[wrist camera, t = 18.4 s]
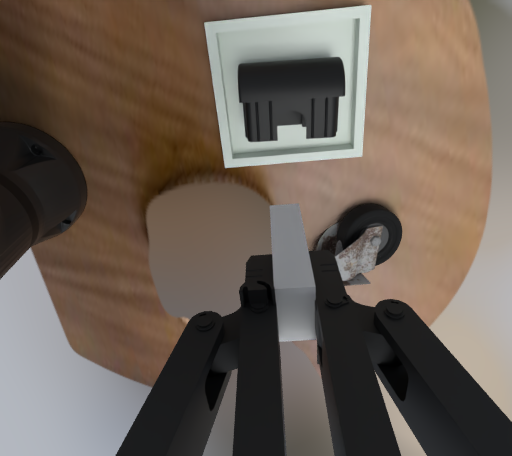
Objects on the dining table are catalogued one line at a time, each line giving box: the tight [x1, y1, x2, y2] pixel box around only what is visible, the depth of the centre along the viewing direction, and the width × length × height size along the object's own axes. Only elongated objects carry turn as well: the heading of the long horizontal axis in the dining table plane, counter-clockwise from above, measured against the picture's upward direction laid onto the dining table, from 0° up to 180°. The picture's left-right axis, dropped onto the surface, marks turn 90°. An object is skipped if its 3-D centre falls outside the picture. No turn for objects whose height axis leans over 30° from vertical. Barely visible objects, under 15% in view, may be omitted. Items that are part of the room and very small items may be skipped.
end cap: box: [238, 57, 345, 142], centre depth 37 cm, size 10×7×7 cm
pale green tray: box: [204, 5, 371, 168], centre depth 38 cm, size 16×20×3 cm
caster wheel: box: [315, 204, 402, 286], centre depth 48 cm, size 7×11×10 cm
